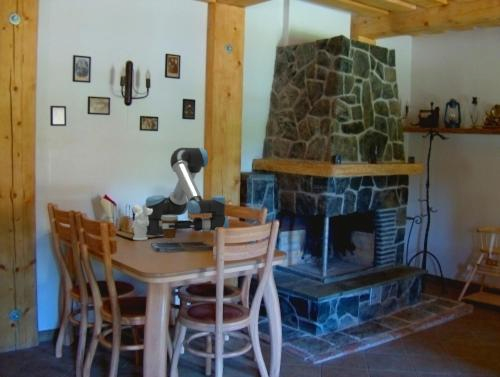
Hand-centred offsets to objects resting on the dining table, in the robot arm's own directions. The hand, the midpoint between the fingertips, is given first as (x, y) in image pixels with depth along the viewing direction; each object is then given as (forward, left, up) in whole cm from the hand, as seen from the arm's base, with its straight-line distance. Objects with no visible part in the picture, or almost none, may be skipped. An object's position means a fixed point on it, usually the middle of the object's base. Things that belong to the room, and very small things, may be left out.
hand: (161, 224), depth 316 cm
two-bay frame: (0, +12, -13) cm, 18 cm away
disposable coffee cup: (0, +5, -7) cm, 9 cm away
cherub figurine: (-31, -5, -14) cm, 34 cm away
